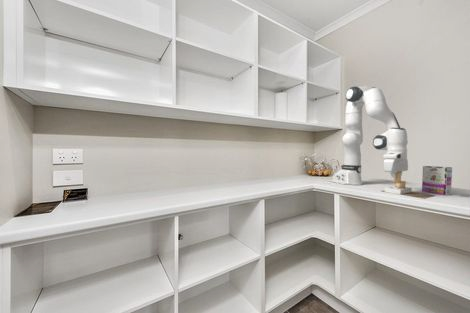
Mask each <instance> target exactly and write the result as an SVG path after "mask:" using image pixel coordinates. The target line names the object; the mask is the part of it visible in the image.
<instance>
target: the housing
mask: <svg viewBox="0 0 470 313" xmlns="http://www.w3.org/2000/svg"><path fill="white" fill-rule="evenodd" d="M406 183H407V182H406V181H405V180H401V183H396V185H392V186H385V187H384V190H385V192H384V193H387V192H389V193H388V194H393V193H395V194H394V195H399V194H405V193H409V192H413V191H412V190H413V189H412V187H407V186H406Z"/></svg>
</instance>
